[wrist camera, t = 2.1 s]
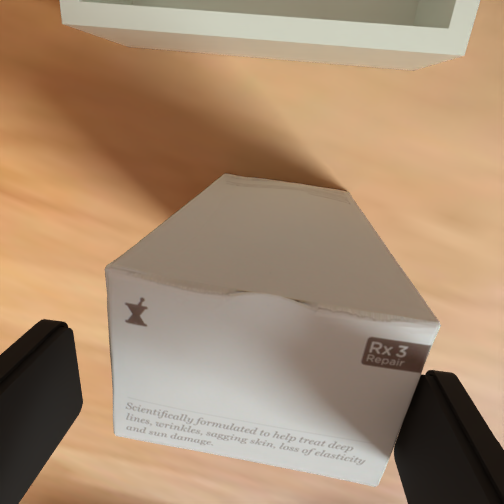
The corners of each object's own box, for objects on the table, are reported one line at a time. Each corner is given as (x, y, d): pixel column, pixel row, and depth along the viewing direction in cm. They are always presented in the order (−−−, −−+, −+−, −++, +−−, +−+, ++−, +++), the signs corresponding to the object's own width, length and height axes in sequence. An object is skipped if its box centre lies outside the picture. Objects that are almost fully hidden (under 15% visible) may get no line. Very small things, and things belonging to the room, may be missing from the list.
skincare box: (216, 253, 24) (96, 442, 10) (224, 165, 22) (81, 264, 8) (337, 274, 23) (377, 509, 10) (359, 186, 21) (455, 333, 7)
